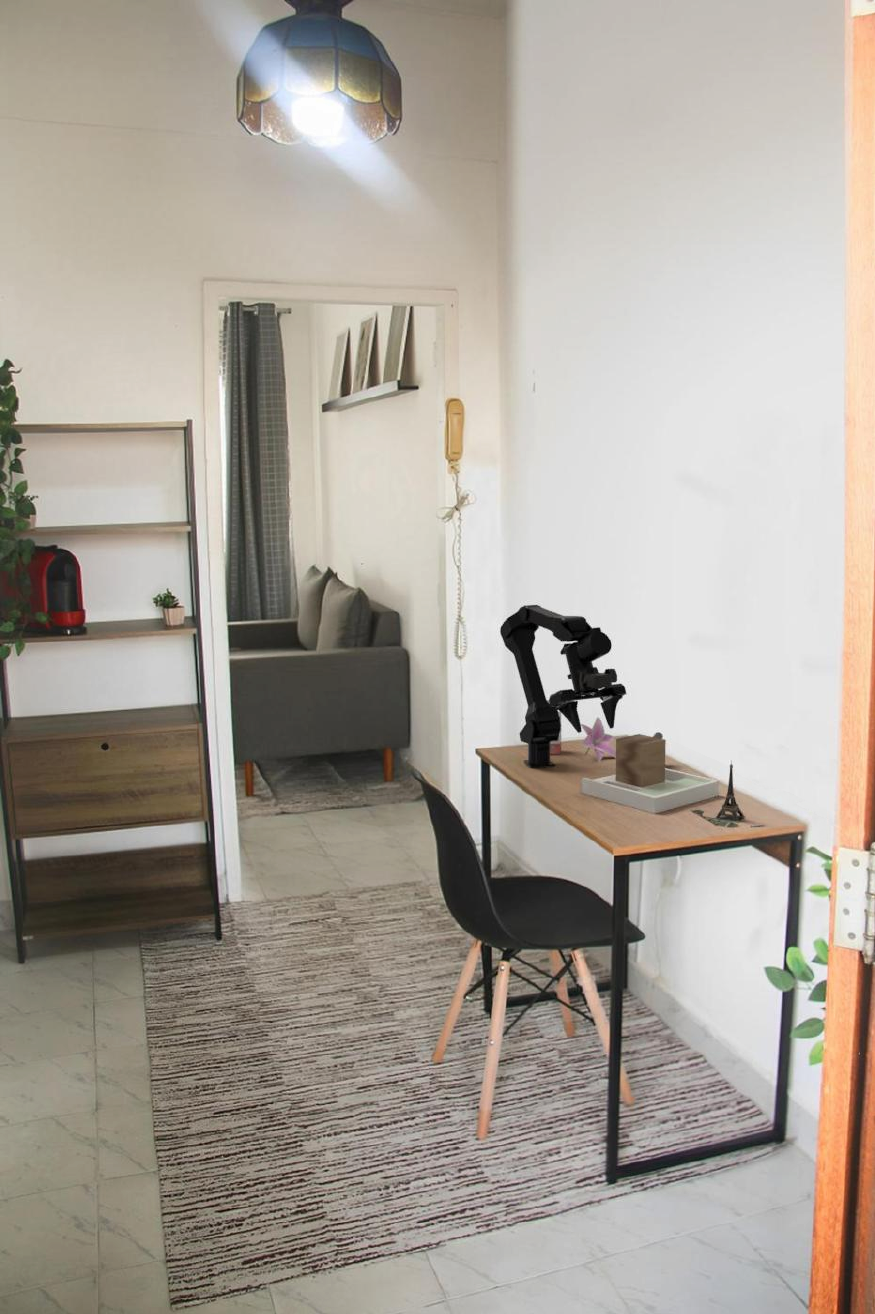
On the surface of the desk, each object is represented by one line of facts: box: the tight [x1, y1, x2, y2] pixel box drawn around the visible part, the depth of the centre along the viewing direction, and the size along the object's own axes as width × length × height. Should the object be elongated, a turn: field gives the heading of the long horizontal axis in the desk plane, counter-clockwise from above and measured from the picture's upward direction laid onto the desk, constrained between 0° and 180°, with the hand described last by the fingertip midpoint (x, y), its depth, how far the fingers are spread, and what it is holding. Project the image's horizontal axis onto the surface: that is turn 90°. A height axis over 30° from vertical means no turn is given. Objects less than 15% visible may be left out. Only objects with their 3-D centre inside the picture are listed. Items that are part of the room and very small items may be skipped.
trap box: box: [581, 767, 720, 815], centre depth 255 cm, size 22×22×4 cm
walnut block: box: [615, 733, 666, 788], centre depth 256 cm, size 8×8×10 cm
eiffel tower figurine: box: [690, 759, 766, 829], centre depth 235 cm, size 15×10×13 cm
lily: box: [580, 717, 616, 763], centre depth 291 cm, size 12×12×10 cm
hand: (596, 730), depth 260 cm, fingers open, 9 cm apart
